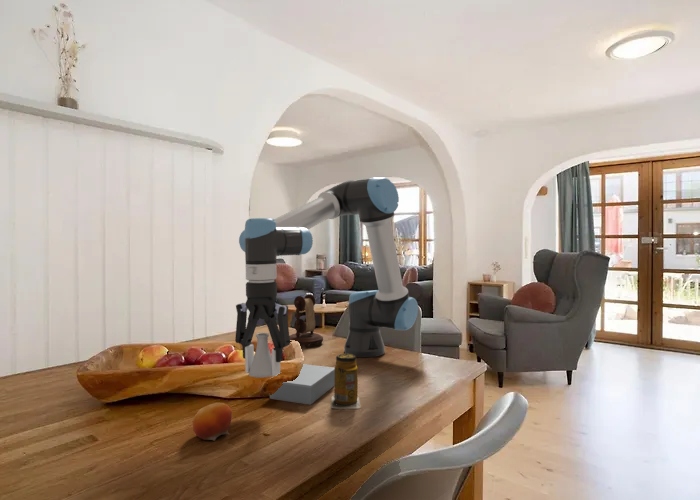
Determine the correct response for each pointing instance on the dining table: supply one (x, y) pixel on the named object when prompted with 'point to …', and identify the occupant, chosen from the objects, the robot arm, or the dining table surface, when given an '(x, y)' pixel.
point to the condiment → (345, 383)
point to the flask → (261, 358)
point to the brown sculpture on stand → (308, 324)
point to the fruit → (212, 421)
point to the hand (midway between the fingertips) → (262, 372)
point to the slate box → (307, 385)
